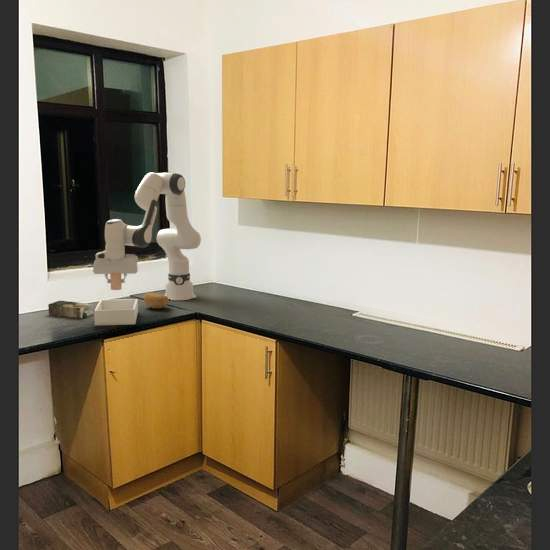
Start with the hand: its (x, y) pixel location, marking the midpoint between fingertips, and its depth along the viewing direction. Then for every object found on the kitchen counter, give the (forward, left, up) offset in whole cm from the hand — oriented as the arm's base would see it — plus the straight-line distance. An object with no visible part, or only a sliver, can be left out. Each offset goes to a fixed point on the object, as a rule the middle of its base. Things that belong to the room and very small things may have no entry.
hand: (116, 282), depth 262 cm
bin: (0, 0, -18) cm, 18 cm away
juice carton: (-11, -23, -18) cm, 31 cm away
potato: (-19, +18, -18) cm, 32 cm away
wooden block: (0, 0, -3) cm, 3 cm away
